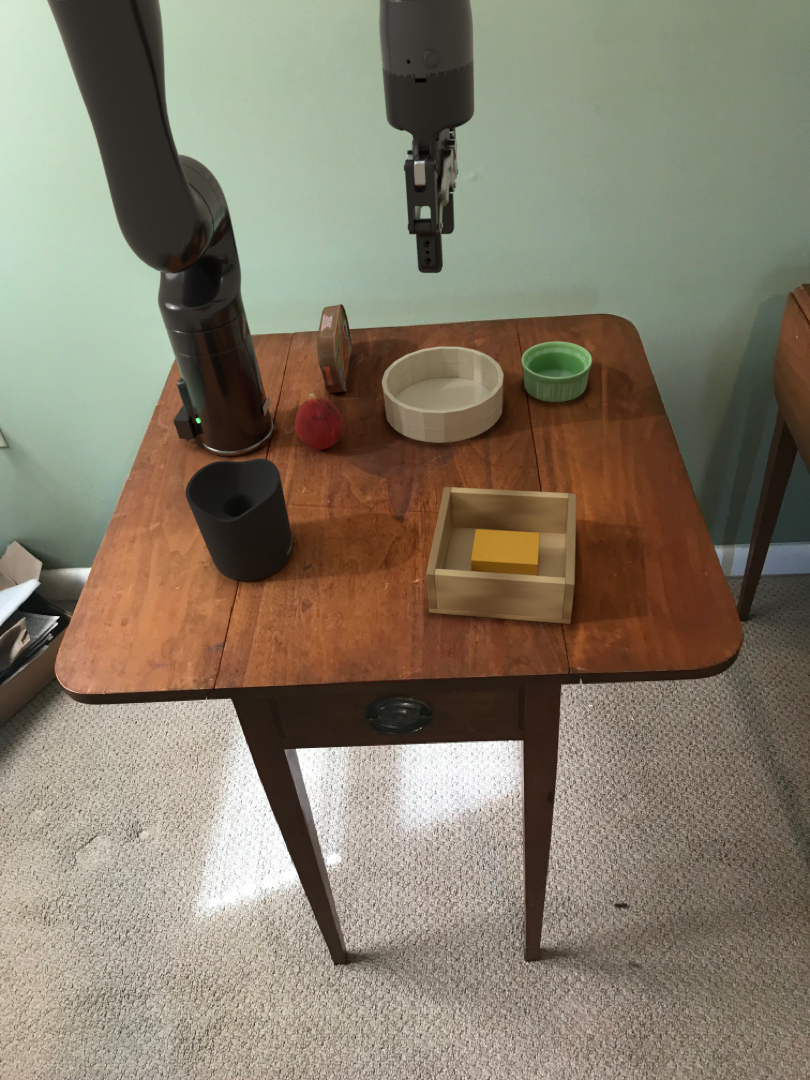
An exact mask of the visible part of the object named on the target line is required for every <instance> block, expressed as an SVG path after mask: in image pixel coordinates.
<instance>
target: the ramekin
mask: <svg viewBox="0 0 810 1080" xmlns="http://www.w3.org/2000/svg"><path fill="white" fill-rule="evenodd" d="M520 360H521V367H522V370H523V371H522V372H523V385H524V389H525V391H526V392H527V394H529V396H531V397H532V398H534V399H537V400H539V401H543V402H550V403H561V402H566V401H567V402H568V401H571V400H574V399H576V398H578V397H580V396H582V394H583V393H584V392H585V391H586V389H587V386H588V385H587V384H588V379H589V374H590V371H591V368H592V364H593V356H592V355H591V353H590V352H589V350H588V349H586V348H585V347H583V346H581V345H579V344H577V343H572V342H567V341H546V342H541V343H538V344H535V345H533V346H531V347H529V348H528V349H527V350H525V351H524V352H523V354H522V356H521V359H520Z"/></svg>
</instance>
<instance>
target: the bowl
mask: <svg viewBox="0 0 810 1080" xmlns="http://www.w3.org/2000/svg"><path fill="white" fill-rule="evenodd" d="M504 380H505V374H504V371H503V369H502V367H501V365H500V363H499V362H498V361H496V360H495V359H494V358H493V357H492V356H490V355H489V354H486V353H483V352H482V351H479V350H477V349H472V348H467V347H463V346H443V345H442V346H441V345H440V346H435V347H427V348H422V349H419V350H416V351H413V352H410V353H407V354H405V355H404V356H402V357H399V358H398V359H397V360H395V361H393V362H392V364H390V365H389V366H388V367H387V368H386V370H385V371H384V373H383V376H382V379H381V389H382V396H383V406H384V413H385V417H386V421H387V422H388V424H389V425H390V426H391V427H392V428H393V430H395V431H396V432H398V433H399V434H401V435H402V436H404V437H407V438H410V439H412V440H415V441H418V442H419V441H420V442H424V443H433V444H434V443H435V444H437V443H438V444H439V443H440V444H444V443H445V444H446V443H455V442H460V441H465V440H468V439H471V438H474V437H477V436H479V435H481V434H483V433H485V432H486V431H488V430H489V429H490V428H492V427H493V426H494V425H495V424H496V423H497V422H498V420H499V419H500V417H501V416H502V414H503V409H504V392H505V391H504V385H505V383H504V382H505V381H504Z"/></svg>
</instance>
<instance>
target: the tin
mask: <svg viewBox="0 0 810 1080" xmlns="http://www.w3.org/2000/svg"><path fill="white" fill-rule="evenodd" d="M349 324H350V323H349V319H348V315H347V311H346V308H345V307H344V304H342V303H339V304H335V305H329V306H328V305H327V306H325V307H323V309H322V312H321V316H320V321H319V326H318V331H317V338H316V353H317V362H318V366H319V369H320V372H321V375H322V379H323V383H324V389H325V391H326V392H327V393H329V394H332V393H343V392H344V393H348V389H347V388H346V381H347V377H348V370H349V363H350V357H351V354H352V353H353V345H352V344H353V343H352V336H351V335H352V334H351V330H350V325H349Z"/></svg>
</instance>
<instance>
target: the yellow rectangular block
mask: <svg viewBox="0 0 810 1080" xmlns="http://www.w3.org/2000/svg"><path fill="white" fill-rule="evenodd" d="M539 543H540V533H535V532H517V531H500V530H483V529H476V530H475V537H474V543H473V550H472V557H471V571H476V572H490V573H505V574H519V575H533V576H537V575H538V560H539Z"/></svg>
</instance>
